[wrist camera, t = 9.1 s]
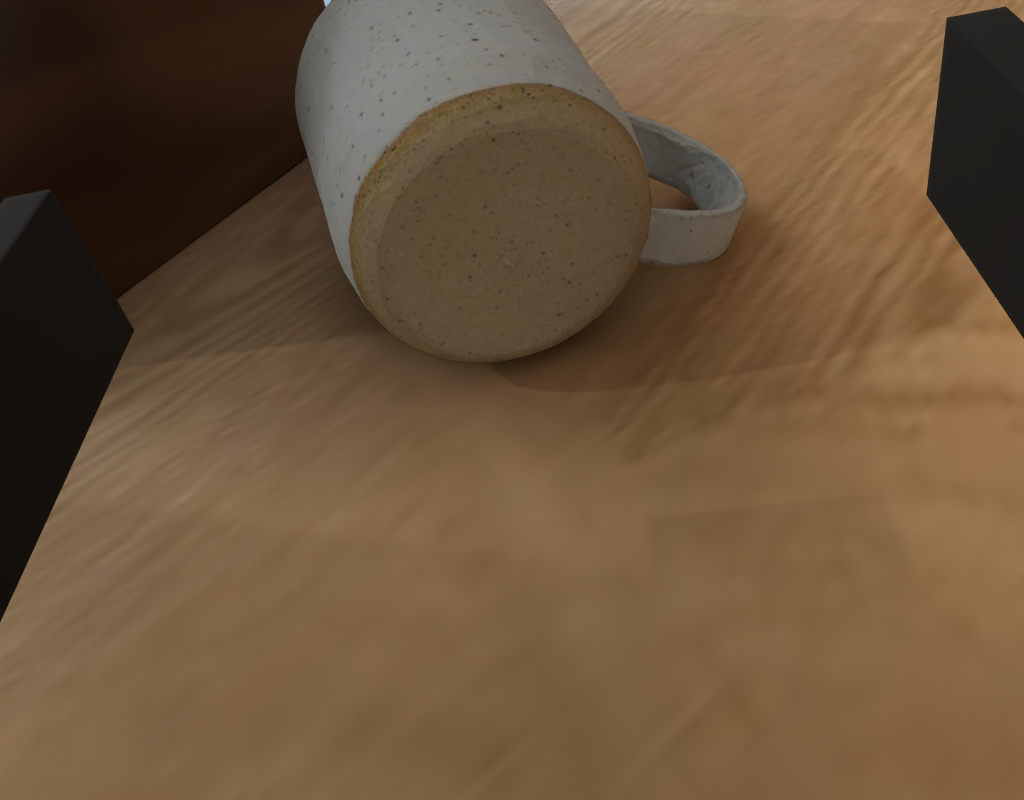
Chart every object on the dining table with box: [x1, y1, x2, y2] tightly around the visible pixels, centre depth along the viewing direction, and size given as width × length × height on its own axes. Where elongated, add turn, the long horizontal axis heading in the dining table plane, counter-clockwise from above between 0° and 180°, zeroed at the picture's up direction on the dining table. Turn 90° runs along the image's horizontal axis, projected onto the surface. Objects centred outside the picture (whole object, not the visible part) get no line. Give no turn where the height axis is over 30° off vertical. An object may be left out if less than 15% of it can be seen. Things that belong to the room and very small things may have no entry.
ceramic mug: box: [295, 0, 747, 363], centre depth 23 cm, size 11×8×8 cm
